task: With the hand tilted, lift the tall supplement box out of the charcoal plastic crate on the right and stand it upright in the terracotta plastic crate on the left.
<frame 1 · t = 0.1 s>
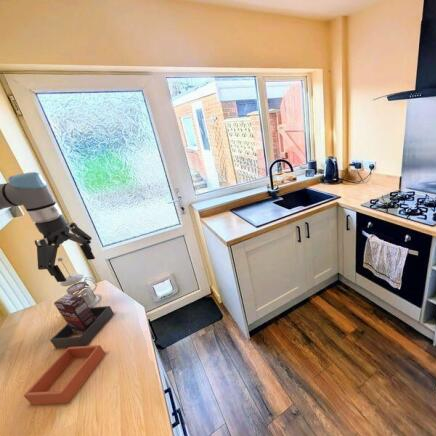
hand: (77, 269, 92), 25 cm above the countertop, tool pointing down, fingers open, 13 cm apart
right crate: (87, 330, 97), on the countertop
supplement box: (87, 330, 97), resting in right crate
french press: (89, 302, 112), on the countertop
left crate: (71, 377, 79), on the countertop
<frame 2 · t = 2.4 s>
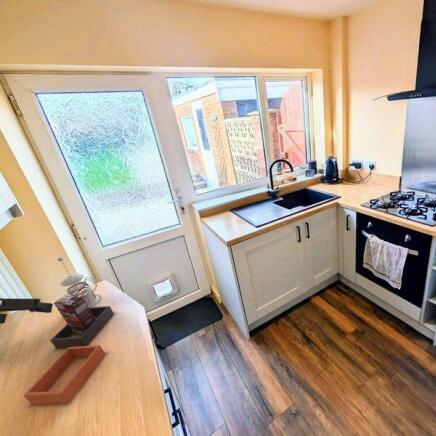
hand: (28, 313, 77), 21 cm above the countertop, tool tilted 40°, fingers open, 13 cm apart
nothing on the countertop moved.
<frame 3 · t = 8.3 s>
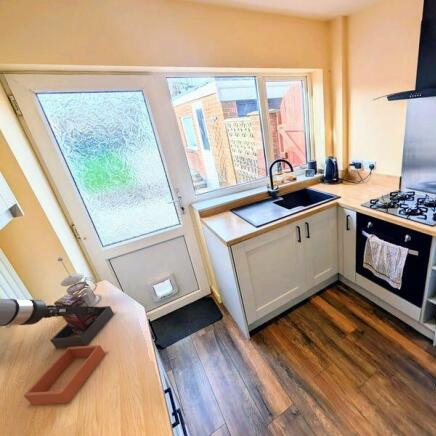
hand: (85, 311, 97), 7 cm above the countertop, tool tilted 45°, fingers closed on supplement box, 9 cm apart
supplement box: (87, 330, 97), resting in right crate, touching gripper
everything else where it was.
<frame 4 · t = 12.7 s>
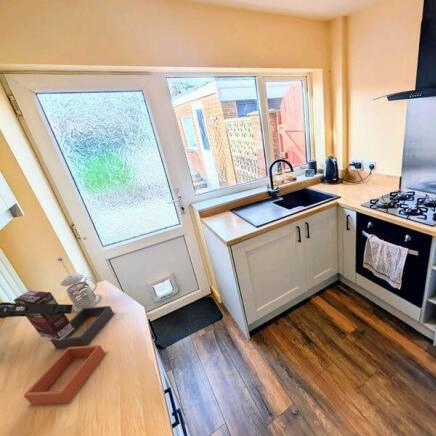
hand: (56, 310, 79), 20 cm above the countertop, tool tilted 45°, fingers closed on supplement box, 9 cm apart
supplement box: (58, 333, 80), point 13 cm above the countertop, touching gripper
everything else where it was.
when the fingers open (7 cm above the countertop, at t = 17.6 s): supplement box stays where it is, resting in left crate.
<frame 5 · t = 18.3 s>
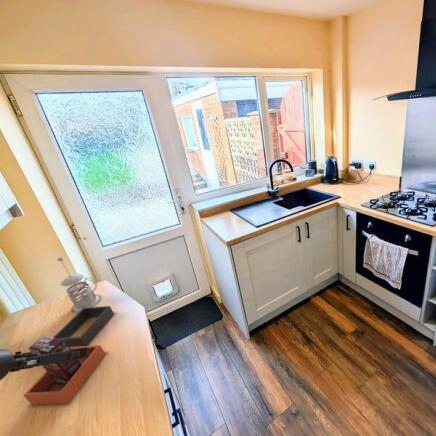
hand: (64, 353, 78), 8 cm above the countertop, tool tilted 45°, fingers open, 13 cm apart
supplement box: (71, 377, 79), resting in left crate
everything else where it was.
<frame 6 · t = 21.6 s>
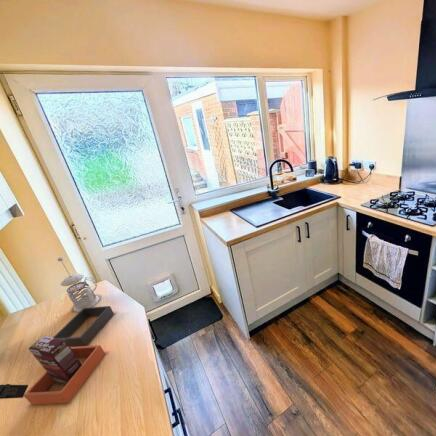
nothing on the countertop moved.
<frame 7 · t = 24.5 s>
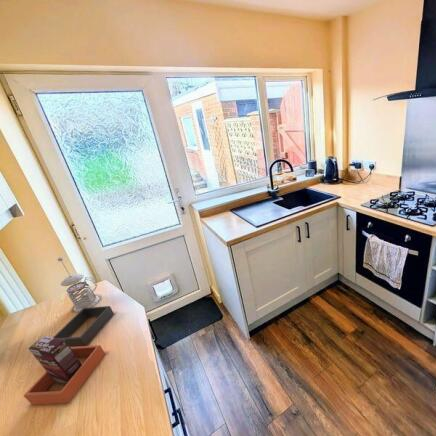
nothing on the countertop moved.
at the end: supplement box inside the target area on the left crate (0.0 cm from its centre), point 0.0 cm above the left crate's base; supplement box tilted 0°; the gripper is holding nothing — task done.
